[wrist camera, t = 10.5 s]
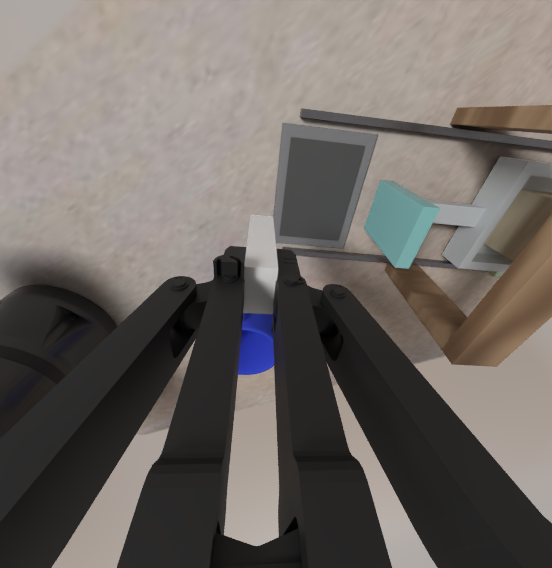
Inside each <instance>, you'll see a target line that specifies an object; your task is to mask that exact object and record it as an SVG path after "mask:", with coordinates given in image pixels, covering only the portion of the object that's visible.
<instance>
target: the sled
mask: <svg viewBox="0 0 552 568" xmlns="http://www.w3.org/2000/svg"><path fill="white" fill-rule="evenodd" d="M521 189H528V190H537V191H546V192H552V163H551V162H543V161H535V160H526V159H518V158H510V157H502V156H500V157H499V159H498V161H497V162H496V164H495V166H494V167H493V169H492V171H491V172H490V174H489V176H488V177H487V179H486V181H485V182H484V184H483V186H482V187H481V189H480V191H479V193H478V194H477V196H476V198H475V199H474V201H473V203H472V204H465V203H455V202H446V201H436V200H427V199H423V198H421V197H420V196H418V195H416V194H414V193H412V192H411V191H409V190H407V189H405V188H404V187H402V186H400V185H398V184H397V183H395V182H393V181H387V180H380V183H379V186H378V189H377V192H376V195H375V198H374V201H373V203H372V206H371V209H370V212H369V215H368V218H367V221H366V224H365V227H364V229H365V230H366V232H367V233H368V234H369V236H370V237H371V238H372V239H373V241H374V242H375V243H376V244H377V246H378V247H379V248H380V249H381V251H382V252H383V253H384V254H385V256H386V257H387V258H388V260H389V261H390V262H391V263H392V265H393V266H394V267H395V268H406V269H409V267H410V266H411V264H412V262H413V260H414V258H415V256H416V254H417V252H418V250H419V248H420V246H421V244H422V242H423V241H424V239H425V237H426V235H427V233H428V231H429V229H430V227H431V225H432V223H438V224H448V225H458V228H457V230H456V231H455V233H454V235H453V236H452V238H451V240H450V241H449V243H448V245H447V246H446V248H445V250H444V252H443V253H442V255H443V256H444V257H445V258H446V259H447V260H449V261H450V262H451V263H452V264H453V265H455V266H456V267H457V268H460V269H472V270H484V271H496V272H505V271H506V270H507V269H508V268H509V266H510V265H511V264H512V263H513V261H512V260H510V259H508V258H507V257H505V256H504V255H502V254H500V253H499V252H497V251H495V250H494V249H492V248H491V247H489V246H487V245H486V244H484V243H485V241H486V240H487V238H488V237H489V235H490V234H491V232H492V231H493V230H494V228H495V227H496V225H497V224H498V222H499V221H500V219H501V218H502V217H503V215H504V214H505V212H506V211H507V209H508V208H509V206H510V205H511V204H512V202H513V201H514V199H515V198H516V196H517V195H518V193H519V192H520V191H521Z"/></svg>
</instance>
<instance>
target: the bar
mask: <svg viewBox="0 0 552 568" xmlns="http://www.w3.org/2000/svg"><path fill="white" fill-rule="evenodd" d="M551 215H552V192H546V191H537V190H528V189H521V191H520V192H519V193H518V195H517V196H516V198H515V199H514V201H513V202H512V204H511V205H510V206H509V208H508V209H507V211H506V212H505V214H504V215H503V217H502V218H501V219H500V221H499V222H498V224H497V225H496V227H495V228H494V230H493V231H492V232H491V234H490V235H489V237H488V238H487V240H486V241H485V243H484V244H486V245H487V246H489V247H491V248H492V249H494V250H495V251H497V252H499V253H500V254H502V255H504V256H505V257H507V258H508V259H510V260H512V261H514V260H515V259H516V258H517V257H518V255H519V254H520V253H521V252H522V250H523V249H524V248H525V247H526V245H527V244H528V243H529V242H530V241H531V239H532V238H533V237H534V236H535V234H536V233H537V232H538V231H539V230H540V228H541V227H542V226H543V225H544V223H545V222H546V221H547V220H548V219H549V217H550V216H551Z"/></svg>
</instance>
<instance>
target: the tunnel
mask: <svg viewBox="0 0 552 568" xmlns="http://www.w3.org/2000/svg"><path fill="white" fill-rule="evenodd" d="M450 124H455V125H462V126H470V127H478V128H485V129H495V130H508V131H522V132H535V133H549V134H552V105H541V106H505V107H469V108H457V110H456V112H455V114H454V117H453V119H452V121H451V123H450ZM385 271H386V273H387V274H388V275H389V277H390V278H391V280H392V281H393V282H394V284H395V285H396V287H397V288H398V289H399V291H400V292H401V294H402V295H403V296H404V298H405V299H406V301H407V302H408V303H409V305H410V306H411V308H412V309H413V310H414V312H415V313H416V315H417V316H418V317H419V319H420V320H421V322H422V323H423V324H424V326H425V327H426V329H427V330H428V331H429V333H430V334H431V336H432V337H433V338H434V340H435V341H436V343H437V344H438V345H439V347H440V348H441V350H442V351H443V352H444V354H445V355H446V357H447V358H448V359H449V361H450V362H451V363H452V364H457V365H475V366H476V365H477V366H494V367H496V366H498V365H499V364H500V363H501V362H502V361H503V360H504V359H505V358H507V357H508V356H509V355H510V354H511V353H512V352H513V351H514V350H515V349H517V348H518V347H519V346H520V345H521V344H522V343H523V342H524V341H525V340H527V338H529V337H530V336H531V335H532V334H533V333H534V332H535V331H536V330H538V329H539V328H540V327H541V326H542V325H543V324H544V323H545V322H546V321H547V320H549V319H550V318H551V317H552V215H551V216H550V217H549V219H548V220H547V221H546V222H545V223H544V225H543V226H542V227H541V228H540V230H539V231H538V232H537V233H536V234H535V236H534V237H533V238H532V239H531V241H530V242H529V243H528V244H527V245H526V247H525V248H524V249H523V250H522V252H521V253H520V254H519V255H518V257H517V258H516V259H515V260H514V261H513V263H512V264H511V265H510V266H509V268H508V269H507V270H506V271H505V272H504V274H503V275H502V276H501V277H500V279H499V280H498V281H497V282H496V283H495V285H494V286H493V287H492V288H491V290H490V291H489V292H488V293H487V294H486V296H485V297H484V298H483V299H482V301H481V302H480V303H479V304H478V306H477V307H476V308H475V309H474V310H473V312H472V313H471V314H470V315H469V317H468V318H467V316H466V315H465V314H464V313H463V312H462V311H461V310H460V309H459V308H458V307H457V306H456V305H455V304H454V303H453V302H452V301H451V300H450V299H449V298H448V297H447V295H446V294H445V293H444V292H443V291H442V290H441V289H440V288H439V287H438V286H437V285H436V284H435V283H434V282H433V281H432V280H431V279H430V278H429V277H428V276H427V275H426V273H425V272H424V271H423V270H422V269H421V268H420V267H419V266H418V265H411V266H410V267H409V269H406V268H395V267H394V266H393V265H392V263H388V264H387V266H386V268H385Z"/></svg>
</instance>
